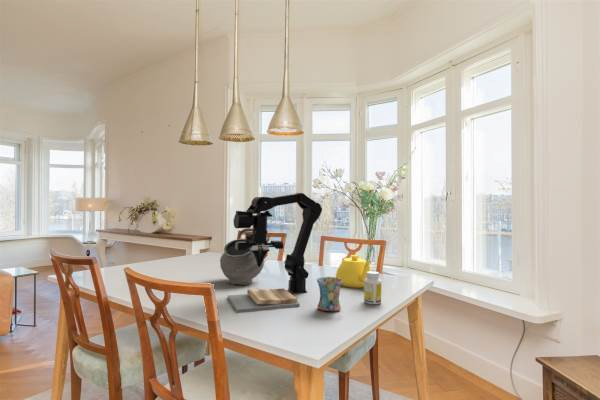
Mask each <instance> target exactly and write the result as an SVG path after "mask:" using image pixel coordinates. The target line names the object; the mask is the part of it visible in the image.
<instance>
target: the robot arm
mask: <svg viewBox="0 0 600 400" xmlns="http://www.w3.org/2000/svg"><path fill="white" fill-rule="evenodd" d="M289 204H291V205H292V204H297V205H298V207H299V208H300V209H302V213H301V214H302V223H301V226H300V230H299V233H298V235H297V238H296V241H295V245H294V247H293V250H292V253H290V254H289V253H287V254H286V255H285V260H284V262H283V264H284V270H285V271H286V272H287V274H288V276H289V280H288V289H287V290H288V292H289V293H291V294H299V293H301V294H303V293H307V292H308V290H306V288H307V287H306V284H307V283H306V282H307V281H306V279H308V277H309V274H310V273H309V272H308V271H307V270H306V268H305V253H306V249H307V245H308V243H309V240H310V237H311V233H312V231H313V228H314V224H315V223H316V222H317V221H318V219H319V218H320V216H321V214H322V212H323V207H322V205H321V204H320V203H319V202H316V201H315V200H313V199H311V197H309V196H307V195H306V194H305V193H303V192H296V193H290V194H284V195H279V196H272V197H271V196H255V197H253V199H252V200H251V204H250V205H249V207H248V208H247V209H246V211H245V210H244V211H242V210H236V211H235V215H234V218H233V226H234V228H235V229H247V228H251V227H252V228H253V230H252V231H251V232H245V237H244V239H245V241H250V243H247V242H245V241H238V242H236V243H235V249H237V250H246V249H247V248H250V249H249V250H250V251H252V252H253V254H254V256H255V259H256V262H257V265H258V267H260V266H261V264H262V262H263V259H264V260H265V258H266V255H267V253H268V252H270V248H274V249H276V250H283V249H284V242H283V241H281V240H270V242H268V217H269V218H270V217H271V218H272V217H273V214H272V213H270V211H269V210H271V209H273V208H275V207H279V206H284V205H285V206H286V205H289ZM258 247H260V248H259V250H258Z"/></svg>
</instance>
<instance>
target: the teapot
mask: <svg viewBox="0 0 600 400" xmlns="http://www.w3.org/2000/svg"><path fill="white" fill-rule="evenodd" d="M350 257H351V258H349V257H345V258H343V260H342V261H341V263H340V264H339V266H338V267H337V270H336V273H335V278H340V279H342V280H343V282H342V284H341V286H343V287H346V288H356V289H357V288H358V289H360V288H361V289H362V288H363V289H364V280H365V279H366V278H367V272H368V271H373V270H372V267H370V266H371V263H372V260H368V261H367V260H366V259H362V258H359V255H358V254H351V255H350Z"/></svg>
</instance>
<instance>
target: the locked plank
mask: <svg viewBox="0 0 600 400" xmlns="http://www.w3.org/2000/svg"><path fill="white" fill-rule="evenodd" d="M269 290H271V291H272V292H273V293H274V294H275V295H276V296H278V297H279V298H280V299H281V300H282V302H281V303H282V304H289V303H297V302H298V298H297V297H296V296H294V295H293V294H292V293H291V292H290V291H287V290H286V289H285V288H271V289H269Z"/></svg>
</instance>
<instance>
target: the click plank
mask: <svg viewBox="0 0 600 400" xmlns="http://www.w3.org/2000/svg"><path fill="white" fill-rule="evenodd" d="M246 294H248V295H249V296H250V297H251V298H252V299H253V300H254V301H255V302H256V304H281V302H282V300H281V299H280V298H279V297H278V296H276V295H275V294H274V293H273V292H272V291H271V290H270V289H263V288H261V289H257V288H256V289H255V288H254V289H250V288H247V293H246Z"/></svg>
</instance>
